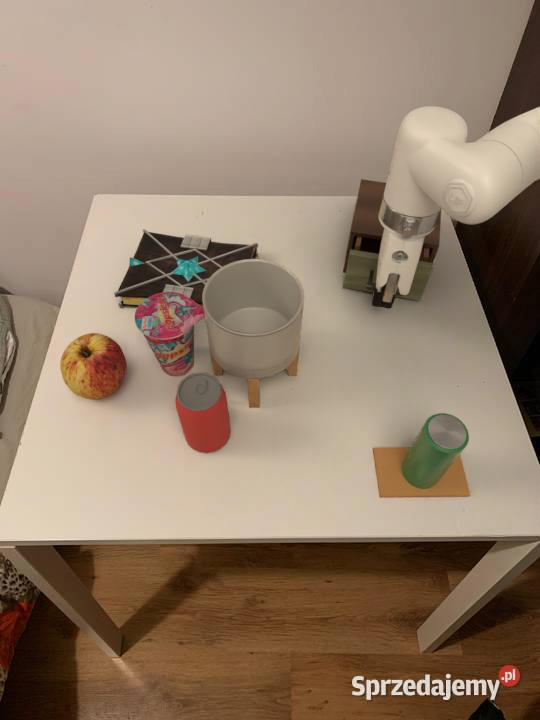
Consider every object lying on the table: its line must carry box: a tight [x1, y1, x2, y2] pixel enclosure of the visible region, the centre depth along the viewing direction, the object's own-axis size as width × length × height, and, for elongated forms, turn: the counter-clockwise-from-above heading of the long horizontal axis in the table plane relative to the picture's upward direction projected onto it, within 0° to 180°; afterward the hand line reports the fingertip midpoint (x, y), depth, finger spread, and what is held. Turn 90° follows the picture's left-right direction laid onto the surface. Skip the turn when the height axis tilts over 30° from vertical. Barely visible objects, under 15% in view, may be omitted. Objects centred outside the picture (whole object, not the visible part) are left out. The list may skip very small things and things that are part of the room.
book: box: [113, 228, 259, 309], centre depth 86 cm, size 22×17×5 cm
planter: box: [202, 258, 305, 409], centre depth 69 cm, size 13×13×18 cm
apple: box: [59, 332, 128, 400], centre depth 71 cm, size 9×9×10 cm
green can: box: [401, 412, 470, 489], centre depth 62 cm, size 5×5×12 cm
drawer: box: [342, 236, 434, 302], centre depth 84 cm, size 18×13×8 cm
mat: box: [372, 446, 471, 499], centre depth 67 cm, size 12×7×1 cm, turn 91°
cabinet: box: [342, 178, 442, 274], centre depth 88 cm, size 15×15×10 cm
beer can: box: [174, 371, 232, 454], centre depth 66 cm, size 7×7×12 cm
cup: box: [134, 292, 205, 377], centre depth 73 cm, size 9×8×12 cm
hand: (381, 303), depth 79 cm, fingers closed
